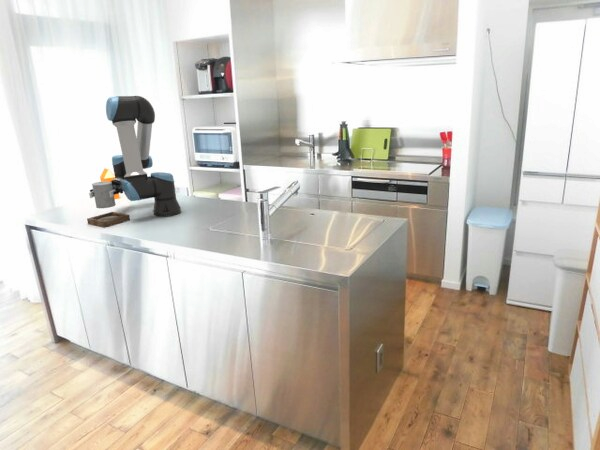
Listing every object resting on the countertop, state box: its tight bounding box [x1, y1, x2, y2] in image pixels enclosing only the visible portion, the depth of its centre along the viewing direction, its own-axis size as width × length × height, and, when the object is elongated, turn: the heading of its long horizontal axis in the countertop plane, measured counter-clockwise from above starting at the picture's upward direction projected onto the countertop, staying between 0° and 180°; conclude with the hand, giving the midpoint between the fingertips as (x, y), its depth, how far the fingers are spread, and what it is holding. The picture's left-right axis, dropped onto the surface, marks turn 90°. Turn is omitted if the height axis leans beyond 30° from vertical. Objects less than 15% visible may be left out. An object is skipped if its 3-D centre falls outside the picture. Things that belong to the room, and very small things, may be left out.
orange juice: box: [99, 167, 120, 200], centre depth 277 cm, size 8×9×20 cm
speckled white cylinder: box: [91, 181, 116, 209], centre depth 220 cm, size 10×10×12 cm
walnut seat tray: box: [86, 211, 131, 229], centre depth 224 cm, size 15×15×3 cm
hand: (100, 195), depth 215 cm, fingers closed on speckled white cylinder, 9 cm apart
